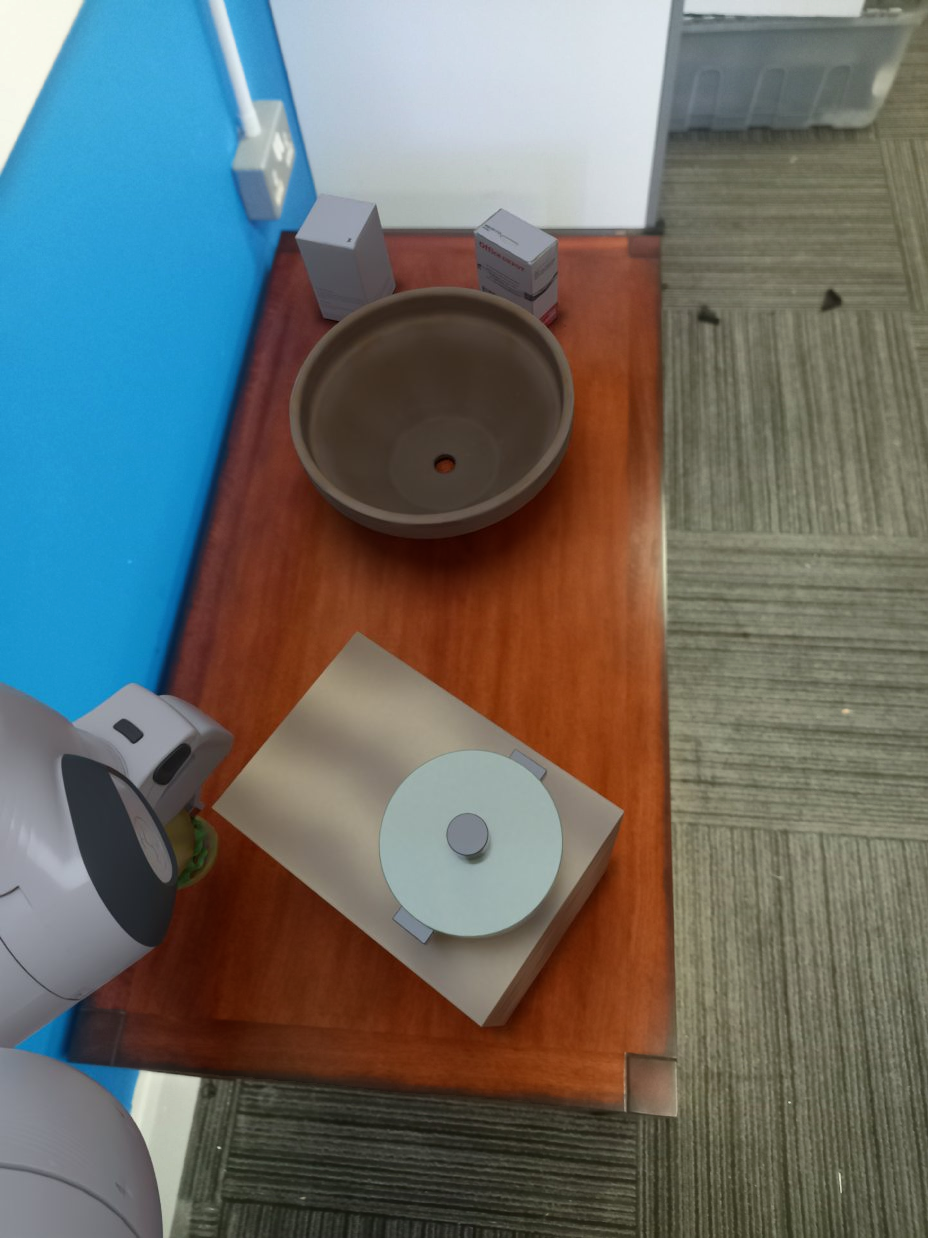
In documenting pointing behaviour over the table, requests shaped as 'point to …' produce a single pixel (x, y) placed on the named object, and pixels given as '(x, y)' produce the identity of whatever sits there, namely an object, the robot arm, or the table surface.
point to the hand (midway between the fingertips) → (160, 847)
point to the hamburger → (192, 847)
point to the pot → (470, 845)
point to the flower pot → (433, 411)
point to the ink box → (518, 264)
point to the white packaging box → (345, 255)
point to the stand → (358, 796)
